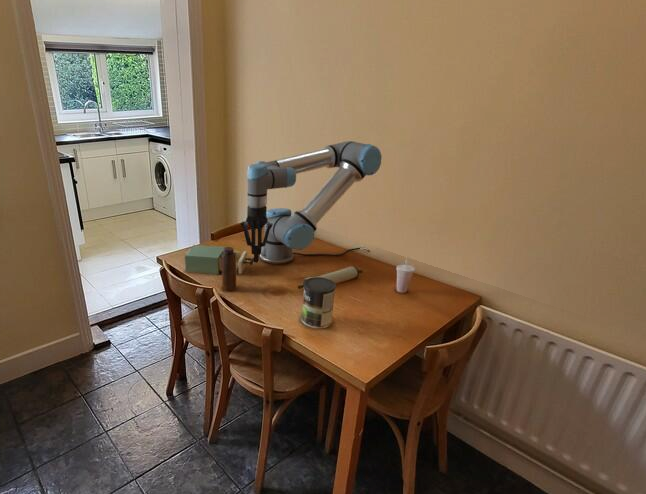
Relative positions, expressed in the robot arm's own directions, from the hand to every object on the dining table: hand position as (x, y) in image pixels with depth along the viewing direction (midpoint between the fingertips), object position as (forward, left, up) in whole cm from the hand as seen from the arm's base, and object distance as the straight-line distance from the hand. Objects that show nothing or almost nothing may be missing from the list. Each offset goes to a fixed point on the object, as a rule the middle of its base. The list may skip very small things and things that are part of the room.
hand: (256, 261), depth 169 cm
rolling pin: (-31, +1, -7) cm, 32 cm away
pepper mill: (+8, +13, -7) cm, 17 cm away
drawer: (+11, -5, -6) cm, 13 cm away
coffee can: (-27, +30, -7) cm, 41 cm away
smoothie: (-58, +1, -7) cm, 58 cm away
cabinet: (+23, -5, -7) cm, 25 cm away
